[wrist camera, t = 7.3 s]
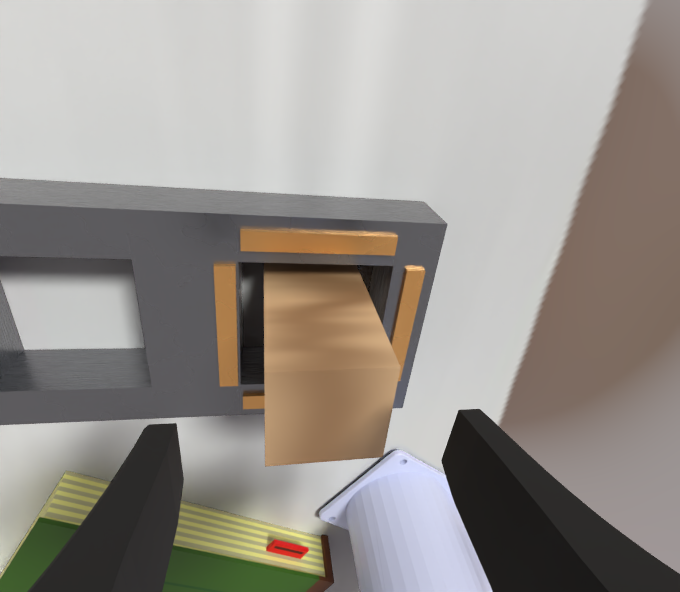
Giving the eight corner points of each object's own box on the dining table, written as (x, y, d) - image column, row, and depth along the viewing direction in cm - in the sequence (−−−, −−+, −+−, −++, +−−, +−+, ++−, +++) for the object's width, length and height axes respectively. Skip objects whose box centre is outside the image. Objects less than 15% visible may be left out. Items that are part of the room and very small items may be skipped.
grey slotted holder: (423, 201, 19) (449, 225, 16) (388, 371, 24) (403, 410, 21) (-97, 172, 15) (-169, 197, 13) (-10, 382, 20) (-50, 430, 18)
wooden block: (353, 257, 20) (400, 366, 13) (345, 330, 22) (382, 456, 15) (263, 257, 19) (264, 372, 12) (264, 332, 21) (265, 466, 14)
